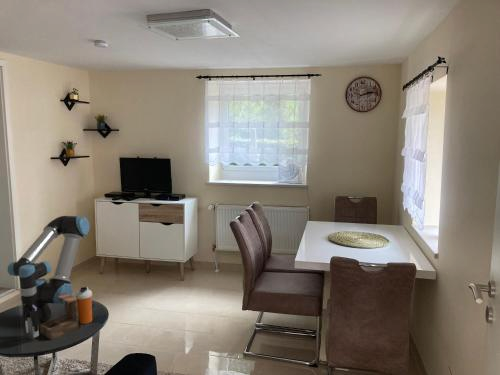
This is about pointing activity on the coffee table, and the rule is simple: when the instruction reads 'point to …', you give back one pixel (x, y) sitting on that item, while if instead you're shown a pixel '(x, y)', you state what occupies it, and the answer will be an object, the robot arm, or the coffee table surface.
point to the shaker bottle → (84, 305)
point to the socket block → (62, 319)
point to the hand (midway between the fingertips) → (32, 334)
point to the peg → (30, 328)
